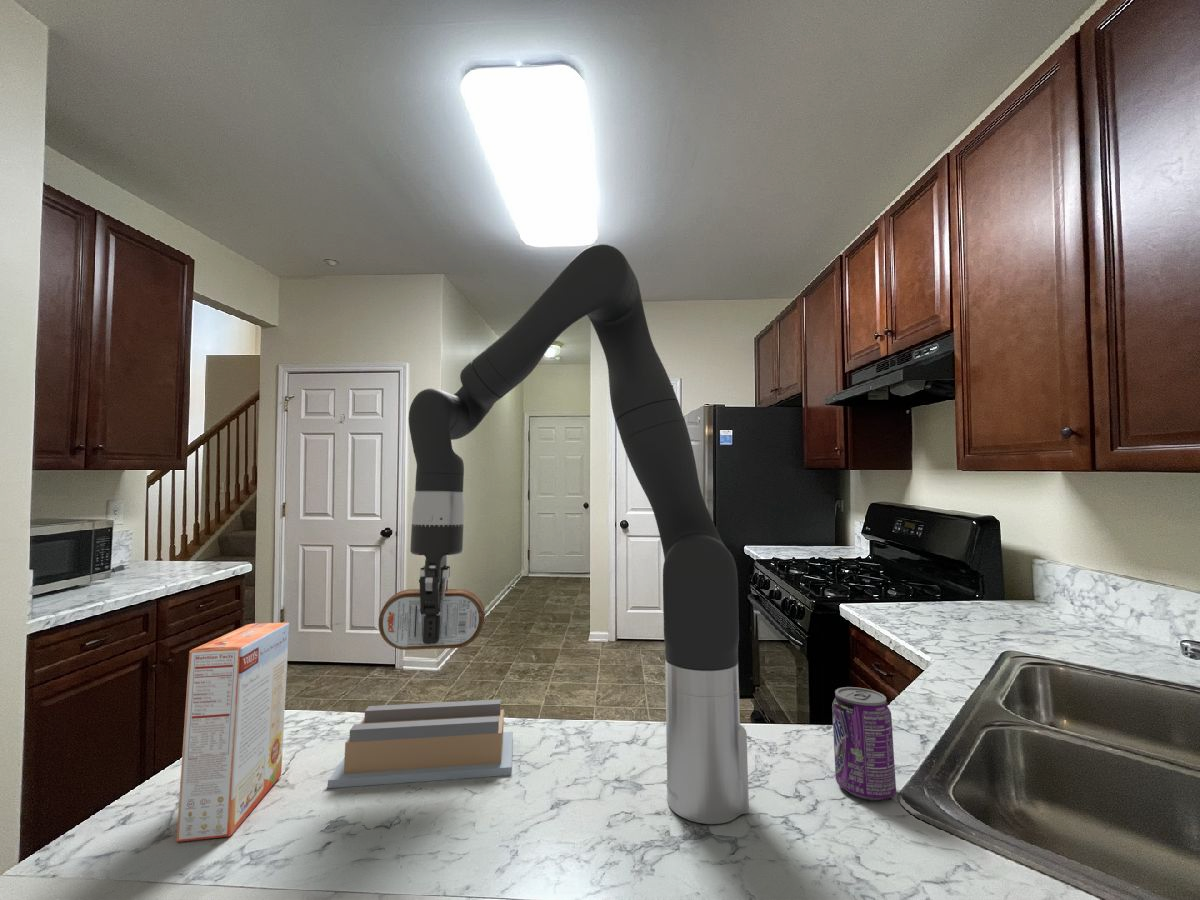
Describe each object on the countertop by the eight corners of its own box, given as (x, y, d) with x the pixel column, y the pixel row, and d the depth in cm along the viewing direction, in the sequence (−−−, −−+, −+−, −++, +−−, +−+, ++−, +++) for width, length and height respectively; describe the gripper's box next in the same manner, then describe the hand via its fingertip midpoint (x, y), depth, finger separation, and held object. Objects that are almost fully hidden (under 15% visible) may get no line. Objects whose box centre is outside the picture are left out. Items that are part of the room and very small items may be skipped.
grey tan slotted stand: (512, 738, 85) (513, 695, 85) (511, 774, 73) (512, 724, 74) (355, 748, 81) (357, 703, 82) (327, 788, 69) (330, 735, 70)
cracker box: (234, 781, 71) (246, 622, 74) (282, 777, 72) (293, 620, 75) (169, 845, 58) (186, 647, 60) (230, 839, 59) (244, 645, 61)
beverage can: (841, 771, 74) (837, 682, 75) (899, 787, 70) (893, 692, 71) (830, 793, 68) (825, 696, 69) (892, 811, 64) (886, 708, 65)
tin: (483, 643, 80) (485, 587, 81) (483, 648, 77) (485, 589, 78) (379, 648, 77) (382, 589, 78) (374, 653, 74) (378, 591, 75)
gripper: (458, 523, 73) (453, 652, 71) (467, 521, 87) (463, 629, 85) (402, 523, 72) (395, 653, 70) (420, 520, 86) (414, 630, 84)
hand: (432, 639), depth 77 cm, fingers closed on tin, 2 cm apart
